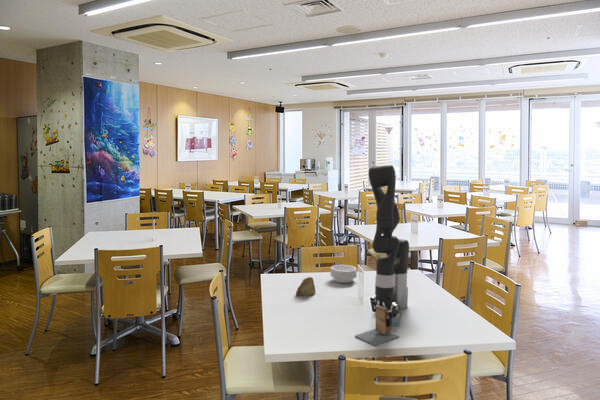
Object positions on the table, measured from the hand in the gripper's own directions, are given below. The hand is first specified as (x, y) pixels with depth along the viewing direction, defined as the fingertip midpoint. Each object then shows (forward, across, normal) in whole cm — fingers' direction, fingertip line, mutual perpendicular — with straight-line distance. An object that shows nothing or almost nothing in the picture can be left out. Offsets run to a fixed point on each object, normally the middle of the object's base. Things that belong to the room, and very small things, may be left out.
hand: (383, 324), depth 187 cm
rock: (+5, +61, -8) cm, 62 cm away
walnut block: (+3, 0, 0) cm, 3 cm away
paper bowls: (+4, +68, -42) cm, 80 cm away
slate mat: (+4, 0, +4) cm, 6 cm away
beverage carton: (+5, +12, -16) cm, 21 cm away
